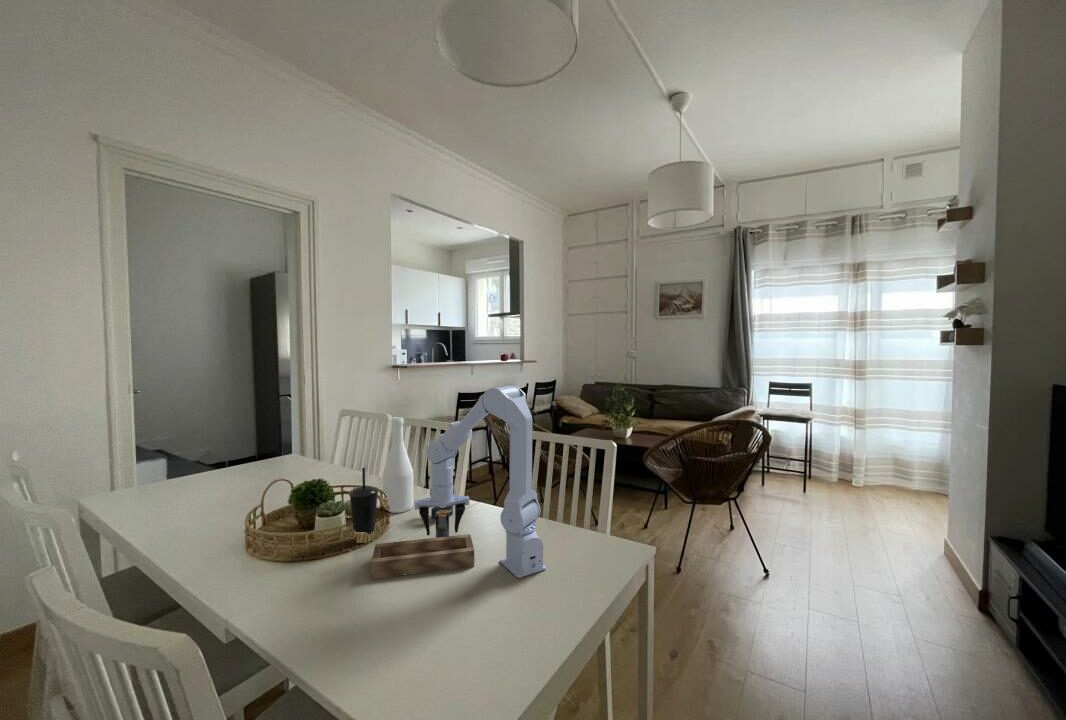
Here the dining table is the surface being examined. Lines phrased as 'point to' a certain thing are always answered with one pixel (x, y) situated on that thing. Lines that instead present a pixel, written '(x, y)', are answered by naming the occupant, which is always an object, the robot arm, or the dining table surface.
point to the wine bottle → (398, 472)
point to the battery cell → (442, 523)
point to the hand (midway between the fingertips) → (442, 532)
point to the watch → (435, 509)
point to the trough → (422, 556)
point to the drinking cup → (364, 506)
